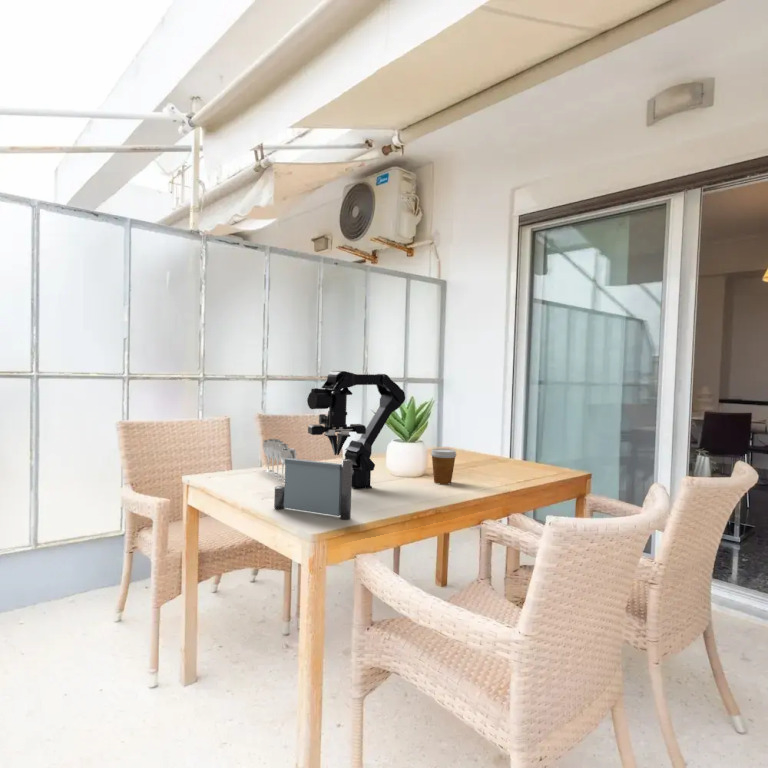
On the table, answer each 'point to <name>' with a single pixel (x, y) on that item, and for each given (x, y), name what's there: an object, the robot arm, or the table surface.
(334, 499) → the panel
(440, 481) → the disposable coffee cup
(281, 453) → the goblet set
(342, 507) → the posts
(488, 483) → the table surface
